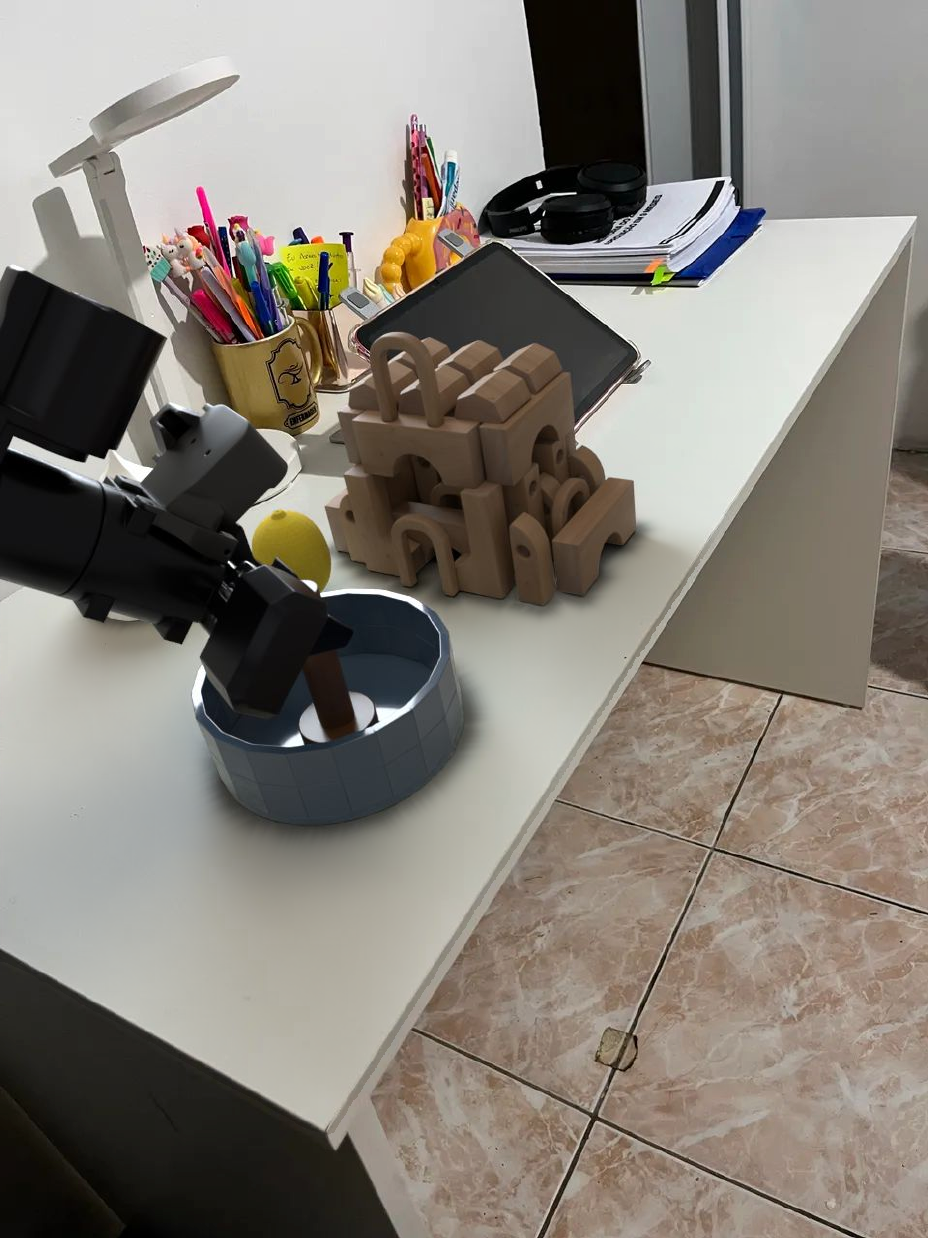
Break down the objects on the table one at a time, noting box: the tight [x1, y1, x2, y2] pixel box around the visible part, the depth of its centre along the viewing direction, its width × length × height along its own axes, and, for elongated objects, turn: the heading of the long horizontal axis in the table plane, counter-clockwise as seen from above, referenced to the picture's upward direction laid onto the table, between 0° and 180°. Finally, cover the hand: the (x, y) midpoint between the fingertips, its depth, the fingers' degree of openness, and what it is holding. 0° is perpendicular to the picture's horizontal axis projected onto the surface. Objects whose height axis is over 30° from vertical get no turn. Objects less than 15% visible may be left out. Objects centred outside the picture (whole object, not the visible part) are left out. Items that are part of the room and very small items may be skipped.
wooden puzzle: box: [323, 331, 637, 606], centre depth 69 cm, size 22×15×19 cm, turn 59°
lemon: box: [251, 508, 332, 593], centre depth 69 cm, size 6×6×8 cm
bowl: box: [190, 588, 464, 826], centre depth 57 cm, size 15×15×6 cm
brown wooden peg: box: [298, 580, 378, 745], centre depth 55 cm, size 5×5×10 cm
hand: (334, 625), depth 55 cm, fingers open, 3 cm apart
